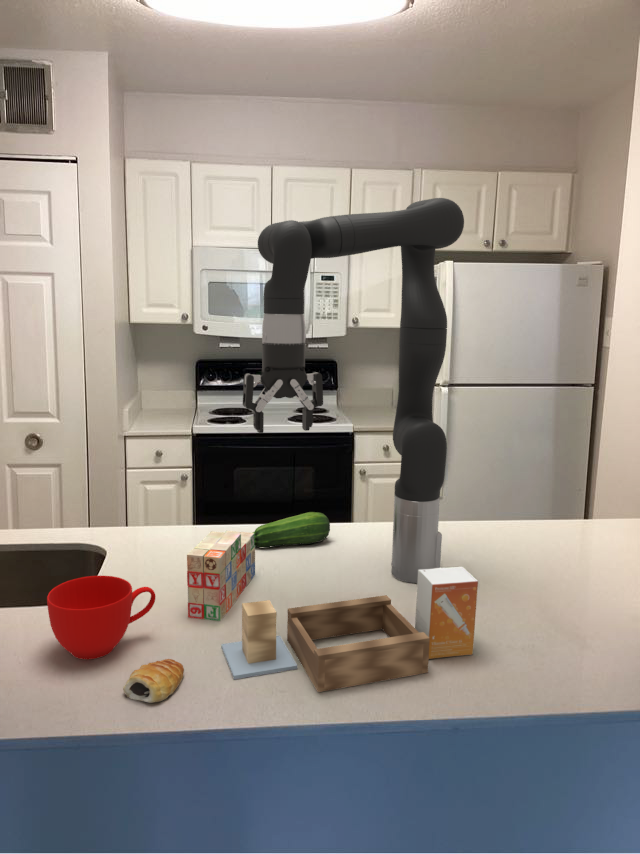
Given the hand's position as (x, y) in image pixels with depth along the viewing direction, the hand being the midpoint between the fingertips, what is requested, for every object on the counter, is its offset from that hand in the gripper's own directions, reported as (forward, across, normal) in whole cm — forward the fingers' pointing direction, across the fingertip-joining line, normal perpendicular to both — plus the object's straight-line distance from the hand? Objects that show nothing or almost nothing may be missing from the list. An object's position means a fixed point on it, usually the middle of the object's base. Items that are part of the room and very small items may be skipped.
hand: (283, 431), depth 123 cm
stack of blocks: (+34, +10, -7) cm, 36 cm away
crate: (+33, -6, +22) cm, 40 cm away
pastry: (+34, +26, +22) cm, 47 cm away
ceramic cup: (+33, +32, +7) cm, 47 cm away
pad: (+33, +9, +18) cm, 39 cm away
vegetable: (+34, -10, -30) cm, 46 cm away
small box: (+33, -21, +24) cm, 46 cm away
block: (+32, +9, +18) cm, 38 cm away
